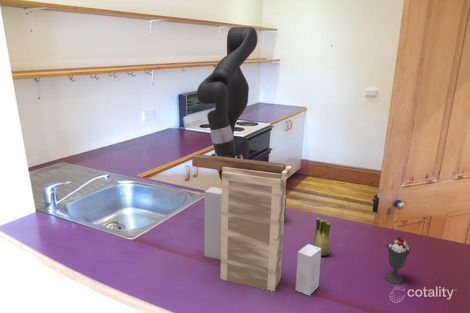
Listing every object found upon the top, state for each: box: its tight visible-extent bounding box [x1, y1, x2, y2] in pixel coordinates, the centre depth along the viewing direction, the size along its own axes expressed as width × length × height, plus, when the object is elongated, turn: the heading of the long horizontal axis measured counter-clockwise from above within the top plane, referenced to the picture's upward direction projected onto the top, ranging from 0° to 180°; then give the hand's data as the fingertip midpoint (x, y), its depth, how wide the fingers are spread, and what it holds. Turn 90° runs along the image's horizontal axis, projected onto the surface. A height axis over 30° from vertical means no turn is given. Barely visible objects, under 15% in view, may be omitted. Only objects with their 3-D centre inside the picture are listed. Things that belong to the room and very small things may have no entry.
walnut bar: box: [191, 153, 286, 174], centre depth 97 cm, size 3×26×3 cm, turn 69°
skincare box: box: [295, 243, 322, 296], centre depth 97 cm, size 6×4×12 cm
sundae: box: [384, 234, 412, 285], centre depth 102 cm, size 7×7×15 cm
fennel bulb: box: [314, 217, 332, 257], centre depth 117 cm, size 6×5×12 cm
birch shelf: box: [220, 165, 293, 292], centre depth 98 cm, size 7×17×34 cm, turn 69°
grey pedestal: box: [204, 186, 222, 261], centre depth 113 cm, size 5×8×22 cm, turn 69°
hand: (232, 180), depth 130 cm, fingers open, 8 cm apart
